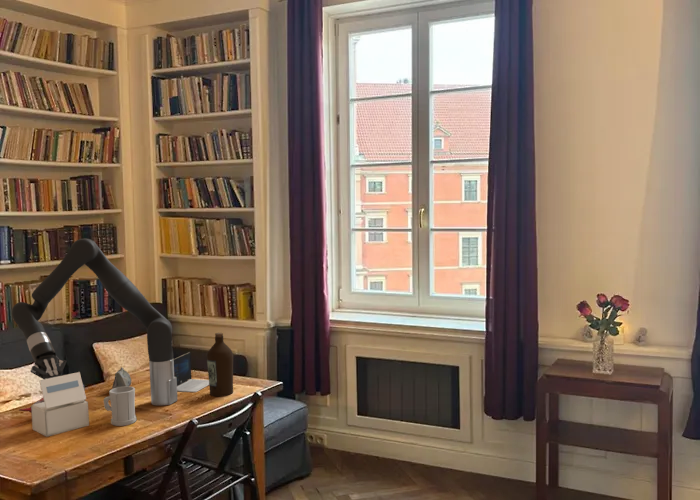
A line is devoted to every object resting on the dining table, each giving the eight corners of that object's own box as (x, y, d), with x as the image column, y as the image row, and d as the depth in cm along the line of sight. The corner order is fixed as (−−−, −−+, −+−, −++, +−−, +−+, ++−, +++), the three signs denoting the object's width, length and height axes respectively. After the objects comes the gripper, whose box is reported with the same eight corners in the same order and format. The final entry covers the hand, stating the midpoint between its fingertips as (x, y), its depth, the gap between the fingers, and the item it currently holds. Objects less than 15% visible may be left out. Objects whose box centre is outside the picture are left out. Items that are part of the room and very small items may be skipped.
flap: (45, 408, 228) (39, 380, 230) (85, 399, 238) (78, 372, 240) (46, 408, 227) (40, 380, 230) (86, 398, 238) (79, 371, 240)
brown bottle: (227, 388, 282) (224, 329, 281) (239, 393, 274) (236, 333, 272) (203, 393, 276) (201, 333, 274) (215, 398, 268) (213, 337, 266)
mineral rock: (125, 384, 293) (124, 362, 293) (144, 386, 289) (143, 364, 288) (103, 392, 282) (102, 369, 281) (123, 395, 277) (121, 371, 276)
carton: (32, 429, 236) (30, 404, 236) (74, 418, 247) (72, 394, 246) (46, 436, 228) (45, 411, 227) (89, 425, 239) (87, 400, 238)
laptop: (195, 393, 277) (194, 362, 276) (169, 391, 281) (167, 361, 280) (216, 382, 294) (215, 352, 294) (191, 380, 298) (189, 351, 297)
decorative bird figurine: (62, 412, 255) (60, 386, 254) (22, 427, 239) (20, 399, 238) (56, 411, 256) (55, 386, 255) (16, 426, 240) (15, 399, 239)
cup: (107, 428, 234) (106, 395, 234) (104, 421, 243) (102, 389, 242) (138, 423, 239) (136, 390, 238) (134, 416, 247) (132, 384, 247)
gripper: (24, 344, 238) (40, 383, 230) (61, 338, 247) (78, 375, 240) (19, 357, 242) (35, 396, 234) (56, 350, 251) (72, 387, 244)
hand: (57, 385), depth 237 cm, fingers closed
